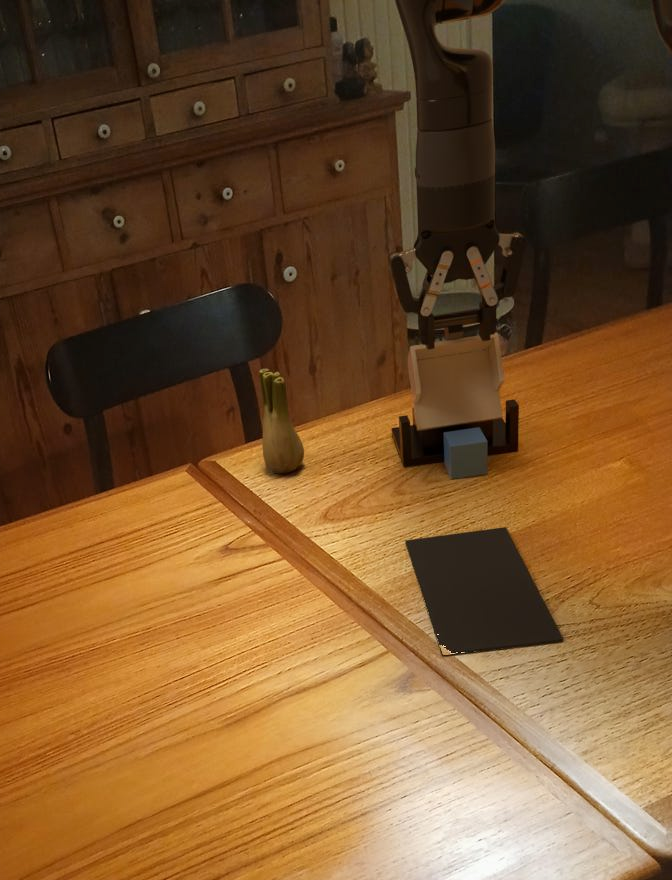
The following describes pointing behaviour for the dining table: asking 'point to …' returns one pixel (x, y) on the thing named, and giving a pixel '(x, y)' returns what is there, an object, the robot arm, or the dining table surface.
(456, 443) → the block
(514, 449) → the stand
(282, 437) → the fennel bulb
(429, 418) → the open storage bin
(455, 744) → the dining table surface
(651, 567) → the dining table surface
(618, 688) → the dining table surface
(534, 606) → the mat
